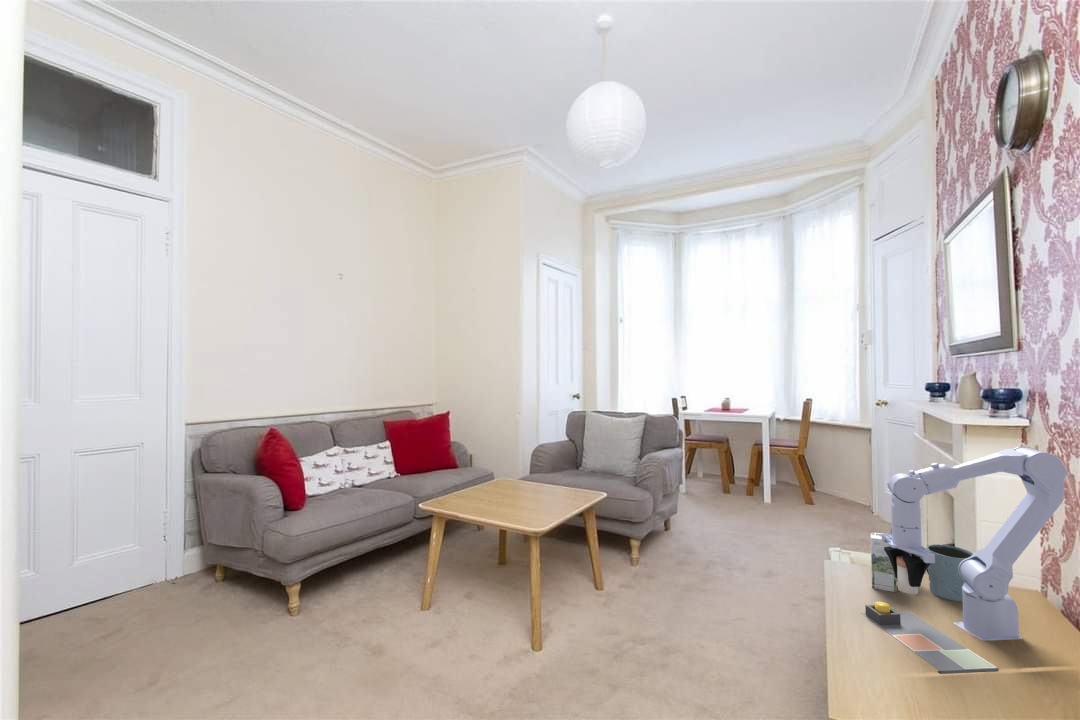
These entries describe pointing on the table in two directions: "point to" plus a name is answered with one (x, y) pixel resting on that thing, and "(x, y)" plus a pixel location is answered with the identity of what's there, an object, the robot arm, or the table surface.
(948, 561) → the teal plant pot
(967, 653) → the colouring board
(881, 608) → the button
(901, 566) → the white cylinder
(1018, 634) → the robot arm
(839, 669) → the table surface
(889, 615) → the button housing
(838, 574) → the table surface
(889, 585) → the syrup box
